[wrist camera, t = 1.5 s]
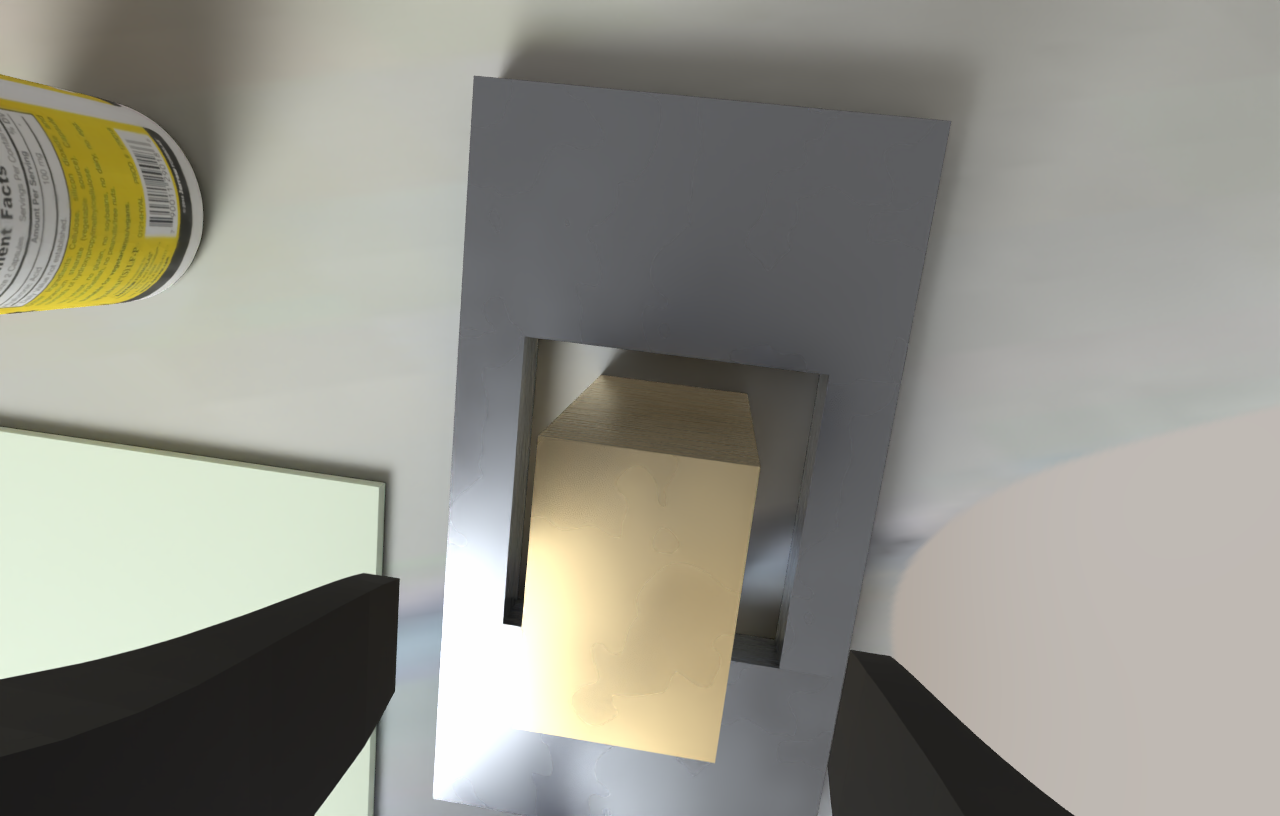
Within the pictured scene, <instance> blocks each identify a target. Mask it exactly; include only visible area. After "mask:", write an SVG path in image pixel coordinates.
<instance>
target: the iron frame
mask: <svg viewBox="0 0 1280 816" xmlns="http://www.w3.org/2000/svg"><path fill="white" fill-rule="evenodd" d="M950 125H951V121H944V120H933V119H923V118H912V117H902V116H891V115H881V114H870V113H860V112H850V111H839V110H829V109H818V108H808V107H797V106H787V105H776V104H766V103H755V102H745V101H734V100H724V99H713V98H703V97H692V96H682V95H671V94H661V93H650V92H640V91H629V90H619V89H608V88H598V87H587V86H577V85H566V84H556V83H545V82H535V81H524V80H514V79H503V78H493V77H482V76H474V83H473V100H472V118H471V135H470V153H469V171H468V188H467V206H466V223H465V241H464V258H463V276H462V293H461V311H460V329H459V346H458V364H457V381H456V399H455V416H454V434H453V452H452V469H451V487H450V504H449V522H448V539H447V557H446V575H445V592H444V610H443V627H442V645H441V662H440V680H439V698H438V715H437V733H436V750H435V768H434V785H433V799H438V800H443V801H449V802H454V803H460V804H465V805H470V806H476V807H481V808H487V809H492V810H497V811H503V812H508V813H514V814H519V815H525V816H817V815H818V809H819V804H820V799H821V794H822V789H823V783H824V778H825V773H826V768H827V763H828V757H829V752H830V747H831V742H832V737H833V732H834V726H835V721H836V716H837V711H838V706H839V700H840V695H841V690H842V685H843V680H844V674H845V669H846V664H847V659H848V654H849V649H850V643H851V638H852V633H853V628H854V623H855V617H856V612H857V607H858V602H859V597H860V592H861V586H862V581H863V576H864V571H865V566H866V560H867V555H868V550H869V545H870V540H871V534H872V529H873V524H874V519H875V514H876V509H877V503H878V498H879V493H880V488H881V483H882V477H883V472H884V467H885V462H886V457H887V451H888V446H889V441H890V436H891V431H892V426H893V420H894V415H895V410H896V405H897V400H898V394H899V389H900V384H901V379H902V374H903V369H904V363H905V358H906V353H907V348H908V343H909V337H910V332H911V327H912V322H913V317H914V311H915V306H916V301H917V296H918V291H919V286H920V280H921V275H922V270H923V265H924V260H925V254H926V249H927V244H928V239H929V234H930V228H931V223H932V218H933V213H934V208H935V203H936V197H937V192H938V187H939V182H940V177H941V171H942V166H943V161H944V156H945V151H946V146H947V140H948V135H949V130H950ZM539 338H540V339H548V340H556V341H564V342H572V343H580V344H588V345H596V346H604V347H612V348H619V349H627V350H635V351H643V352H651V353H659V354H667V355H675V356H683V357H691V358H699V359H706V360H714V361H722V362H730V363H738V364H746V365H754V366H762V367H770V368H778V369H786V370H793V371H801V372H809V373H817V374H820V375H819V381H818V387H817V393H816V399H815V405H814V411H813V417H812V423H811V429H810V435H809V441H808V447H807V453H806V459H805V465H804V471H803V477H802V483H801V489H800V495H799V501H798V507H797V513H796V519H795V525H794V531H793V537H792V543H791V549H790V554H789V560H788V566H787V572H786V578H785V584H784V590H783V596H782V602H781V608H780V614H779V620H778V626H777V632H776V638H775V640H774V639H768V638H761V637H755V636H749V635H742V634H736V633H735V636H734V642H733V649H732V655H731V662H730V668H729V675H728V681H727V688H726V694H725V701H724V707H723V714H722V720H721V727H720V733H719V740H718V746H717V753H716V759H715V763H711V762H706V761H700V760H694V759H688V758H683V757H677V756H671V755H665V754H660V753H654V752H648V751H642V750H637V749H631V748H625V747H619V746H614V745H608V744H602V743H596V742H591V741H585V740H579V739H573V738H568V737H562V736H556V735H550V734H545V733H539V732H533V731H527V730H522V729H516V728H513V727H514V715H515V703H516V691H517V679H518V667H519V655H520V643H521V631H522V619H523V607H524V600H521V599H518V588H519V576H520V564H521V551H522V539H523V527H524V514H525V502H526V490H527V477H528V465H529V453H530V440H531V428H532V416H533V403H534V391H535V379H536V366H537V354H538V341H539Z"/></svg>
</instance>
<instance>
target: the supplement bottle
mask: <svg viewBox="0 0 1280 816" xmlns="http://www.w3.org/2000/svg"><path fill="white" fill-rule="evenodd" d="M202 229H203V204H202V198H201V193H200V189H199V186H198V182H197V179H196V176H195V174H194V171H193V169H192V167H191V165H190V163H189V161H188V159H187V158H186V156H185V155H184V153H183V151H182V150H181V149H180V147H179V146H178V145H177V143H176V142H175V141H174V140H173V139H172V138H171V137H170V135H169V134H168V133H167V132H166V131H165V130H163V129H162V128H161V127H160V126H159V125H158V124H156V123H155V122H154V121H152V120H151V119H149V118H148V117H146V116H145V115H143V114H141V113H140V112H138V111H136V110H133V109H131V108H129V107H127V106H124V105H121V104H118V103H114V102H111V101H108V100H104V99H101V98H97V97H92V96H88V95H85V94H81V93H76V92H72V91H69V90H64V89H60V88H56V87H51V86H47V85H43V84H39V83H34V82H30V81H26V80H21V79H17V78H13V77H9V76H5V75H1V74H0V314H12V313H22V312H31V311H43V310H53V309H63V308H74V307H85V306H98V305H109V304H116V303H124V302H131V301H137V300H142V299H146V298H149V297H152V296H154V295H157V294H159V293H161V292H162V291H164V290H166V289H167V288H169V287H170V286H171V285H173V284H174V283H175V282H176V281H177V280H178V279H179V278H180V277H181V276H182V275H183V274H184V273H185V272H186V270H187V269H188V267H189V266H190V264H191V262H192V261H193V258H194V256H195V254H196V252H197V249H198V246H199V244H200V240H201V236H202Z"/></svg>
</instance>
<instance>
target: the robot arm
mask: <svg viewBox="0 0 1280 816" xmlns="http://www.w3.org/2000/svg"><path fill="white" fill-rule="evenodd" d="M399 580H400V579H399V578H393V577H387V576H380V575H374V574H368V573H361V574H357V575H353V576H350V577H346V578H343V579H340V580H337V581H334V582H331V583H329V584H326V585H323V586H320V587H318V588H315V589H312V590H310V591H307V592H304V593H302V594H299V595H296V596H294V597H291V598H288V599H286V600H283V601H280V602H278V603H275V604H272V605H270V606H267V607H264V608H262V609H259V610H256V611H254V612H251V613H248V614H245V615H242V616H239V617H236V618H233V619H231V620H228V621H225V622H222V623H219V624H216V625H213V626H210V627H207V628H204V629H201V630H198V631H195V632H192V633H189V634H186V635H183V636H180V637H177V638H174V639H170V640H167V641H164V642H160V643H157V644H153V645H150V646H146V647H143V648H139V649H136V650H132V651H128V652H124V653H120V654H116V655H112V656H108V657H105V658H101V659H97V660H92V661H88V662H84V663H79V664H74V665H69V666H64V667H59V668H54V669H49V670H44V671H39V672H34V673H29V674H24V675H19V676H14V677H9V678H4V679H0V816H314V815H315V814H316V812H317V811H318V810H319V808H320V807H321V806H322V804H323V803H324V802H325V800H326V799H327V798H328V796H329V795H330V794H331V792H332V791H333V789H334V788H335V787H336V785H337V784H338V783H339V781H340V780H341V778H342V777H343V776H344V774H345V773H346V772H347V770H348V769H349V767H350V766H351V765H352V763H353V762H354V761H355V759H356V758H357V756H358V755H359V754H360V752H361V751H362V749H363V748H364V746H365V745H366V743H367V741H368V740H369V738H370V736H371V734H372V733H373V731H374V729H375V727H376V726H377V724H378V722H379V720H380V718H381V716H382V715H383V713H384V711H385V709H386V707H387V705H388V703H389V701H390V699H391V697H392V696H393V694H394V692H395V678H396V653H397V629H398V605H399ZM828 775H829V786H830V797H831V806H832V815H833V816H1074V815H1073V814H1071V813H1070V812H1069V811H1067V810H1065V808H1063V807H1062V806H1060V805H1059V804H1058V803H1057V802H1055V801H1054V800H1053V799H1051V798H1050V797H1049V796H1048V795H1046V794H1045V793H1044V792H1042V791H1041V790H1040V789H1039V788H1037V787H1036V786H1035V785H1034V784H1033V783H1031V782H1030V781H1029V780H1028V779H1026V778H1025V777H1024V776H1023V775H1022V774H1021V773H1019V772H1018V771H1017V770H1016V769H1014V768H1013V767H1012V766H1011V765H1010V764H1008V763H1007V762H1006V761H1005V760H1003V759H1002V758H1001V757H1000V756H999V755H998V754H997V753H996V752H994V751H993V750H992V749H991V748H990V747H989V746H988V745H986V744H985V743H984V742H983V741H982V740H981V739H979V737H977V736H976V735H975V734H974V733H973V732H972V731H971V730H970V729H969V728H968V727H967V726H966V725H964V724H963V723H962V722H961V721H960V720H959V719H958V718H957V717H956V716H955V715H954V714H953V713H952V712H951V711H949V710H948V709H947V708H946V707H945V706H944V705H943V704H942V703H941V702H940V701H939V700H938V699H937V698H936V697H935V696H934V695H933V694H932V693H931V692H929V691H928V690H927V689H926V688H925V687H924V686H923V685H922V684H921V683H920V682H919V681H918V680H917V679H916V678H915V677H914V676H913V675H912V674H911V673H909V672H908V671H907V670H906V669H905V668H904V667H903V666H902V665H901V664H899V663H898V662H897V661H896V660H895V659H893V658H892V657H891V656H885V655H879V654H873V653H867V652H860V651H854V650H850V652H849V658H848V663H847V668H846V673H845V678H844V683H843V689H842V694H841V699H840V704H839V709H838V714H837V719H836V725H835V730H834V735H833V740H832V745H831V750H830V756H829V761H828Z"/></svg>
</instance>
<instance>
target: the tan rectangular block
mask: <svg viewBox="0 0 1280 816" xmlns="http://www.w3.org/2000/svg"><path fill="white" fill-rule="evenodd" d="M759 473H760V462H759V456H758V451H757V445H756V440H755V434H754V429H753V423H752V417H751V412H750V406H749V401H748V395H747V394H746V393H738V392H730V391H723V390H715V389H707V388H699V387H692V386H684V385H676V384H669V383H661V382H653V381H645V380H638V379H630V378H622V377H615V376H607V375H600V376H599V377H598V378H597V379H596V380H595V381H594V382H593V383H592V384H591V385H590V386H589V387H588V388H587V389H586V390H585V391H584V392H583V393H582V394H581V395H580V396H579V397H578V398H577V399H576V400H575V401H574V402H572V403H571V404H570V405H569V406H568V407H567V408H566V409H565V410H564V411H563V412H562V413H561V414H560V415H559V416H558V417H557V418H556V419H555V420H554V421H553V422H552V423H551V424H550V425H549V426H548V427H547V428H546V429H545V430H544V431H543V432H542V433H541V434H540V435H539V436H538V439H537V451H536V463H535V475H534V487H533V499H532V511H531V523H530V535H529V547H528V559H527V571H526V583H525V595H524V607H523V619H522V631H521V643H520V655H519V667H518V679H517V691H516V703H515V715H514V727H513V728H516V729H522V730H527V731H533V732H539V733H545V734H550V735H556V736H562V737H568V738H573V739H579V740H585V741H591V742H596V743H602V744H608V745H614V746H619V747H625V748H631V749H637V750H642V751H648V752H654V753H660V754H665V755H671V756H677V757H683V758H688V759H694V760H700V761H706V762H711V763H715V759H716V753H717V746H718V740H719V733H720V727H721V720H722V714H723V707H724V701H725V694H726V688H727V681H728V675H729V668H730V662H731V655H732V649H733V642H734V636H735V629H736V623H737V616H738V610H739V603H740V597H741V590H742V584H743V577H744V571H745V564H746V558H747V551H748V545H749V538H750V532H751V525H752V519H753V512H754V506H755V499H756V493H757V486H758V480H759Z"/></svg>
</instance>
